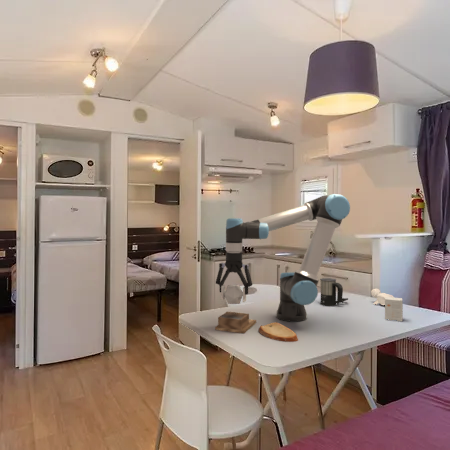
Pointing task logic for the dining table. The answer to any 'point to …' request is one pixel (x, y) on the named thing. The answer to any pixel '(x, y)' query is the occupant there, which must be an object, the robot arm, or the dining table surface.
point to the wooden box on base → (234, 322)
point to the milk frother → (331, 292)
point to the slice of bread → (278, 332)
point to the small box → (393, 308)
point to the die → (233, 294)
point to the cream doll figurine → (379, 296)
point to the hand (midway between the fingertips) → (233, 300)
